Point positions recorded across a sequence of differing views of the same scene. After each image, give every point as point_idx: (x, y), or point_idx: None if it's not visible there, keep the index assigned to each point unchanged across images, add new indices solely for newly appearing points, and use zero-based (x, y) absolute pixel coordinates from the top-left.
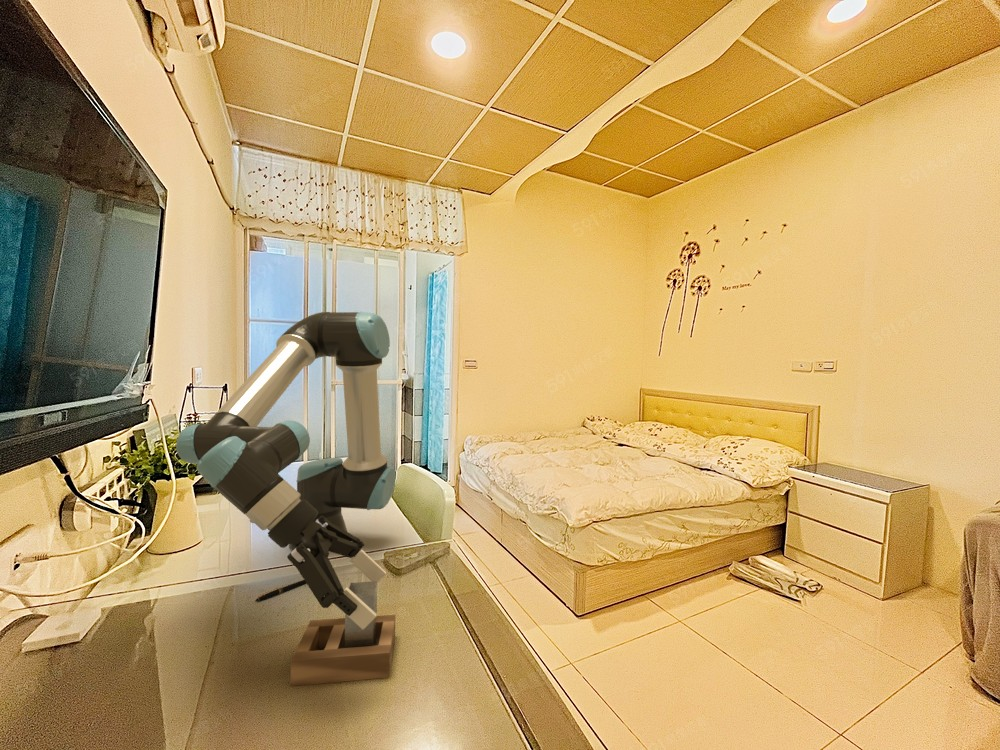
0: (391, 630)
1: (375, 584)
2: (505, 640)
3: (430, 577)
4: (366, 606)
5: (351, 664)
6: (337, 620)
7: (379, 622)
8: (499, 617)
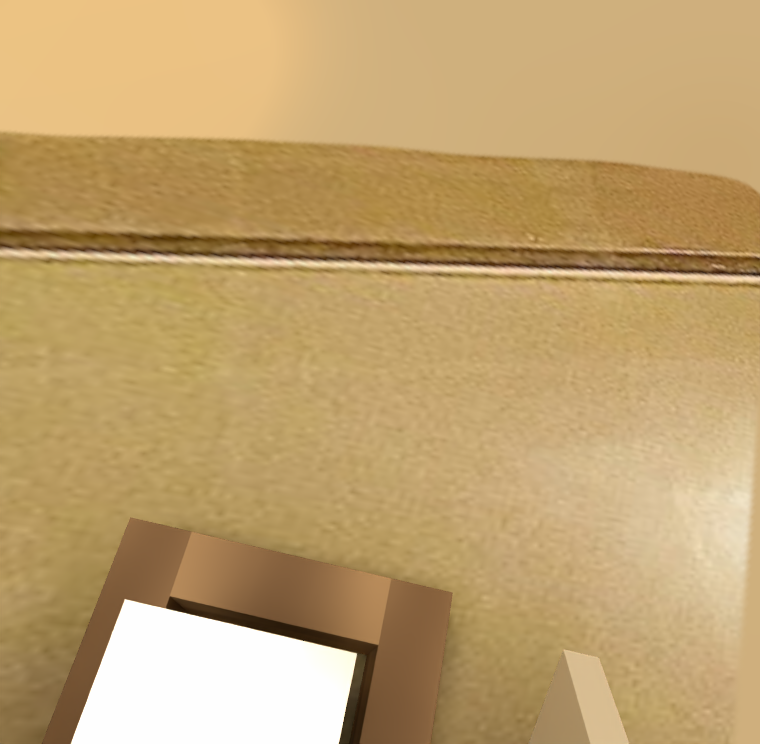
0: (273, 559)
1: (177, 621)
2: (368, 174)
3: None
4: (610, 738)
5: None
6: None
7: None
8: (232, 142)
